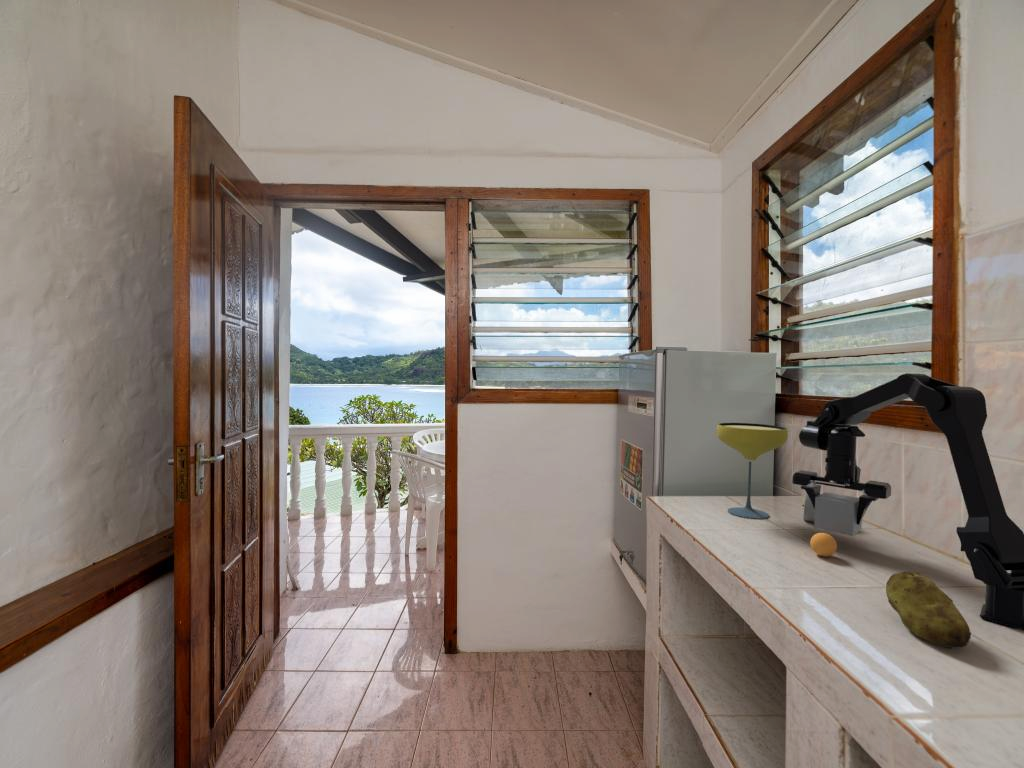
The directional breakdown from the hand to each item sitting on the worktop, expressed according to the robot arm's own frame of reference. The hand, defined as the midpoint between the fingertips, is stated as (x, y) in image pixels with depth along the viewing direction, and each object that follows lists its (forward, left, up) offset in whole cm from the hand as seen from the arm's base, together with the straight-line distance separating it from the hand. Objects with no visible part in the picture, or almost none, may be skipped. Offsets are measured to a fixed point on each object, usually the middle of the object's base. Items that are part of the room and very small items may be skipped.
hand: (838, 520), depth 118 cm
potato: (-35, -20, -6) cm, 41 cm away
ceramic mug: (+19, +9, -6) cm, 22 cm away
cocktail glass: (+11, +25, -6) cm, 27 cm away
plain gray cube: (0, 0, -2) cm, 2 cm away
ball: (-10, 0, -4) cm, 11 cm away
